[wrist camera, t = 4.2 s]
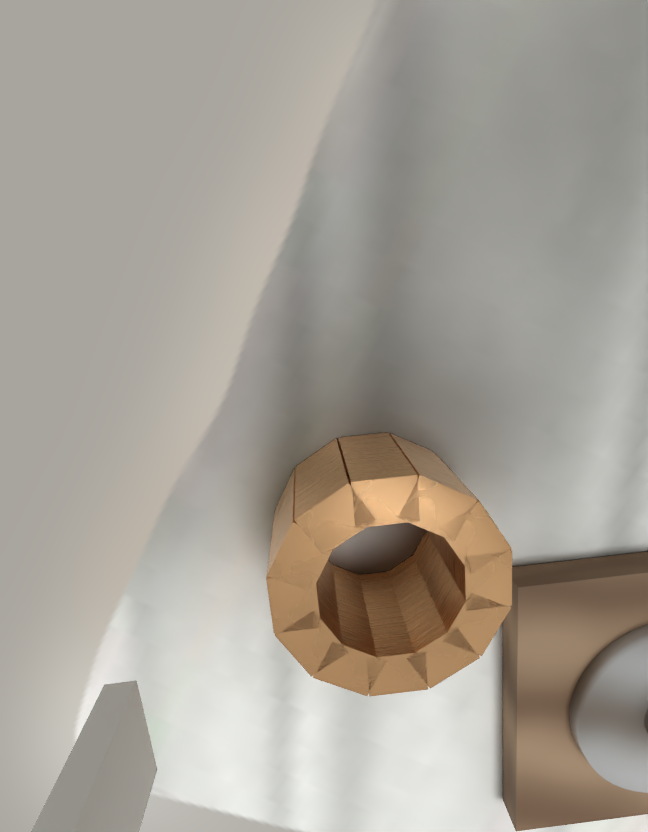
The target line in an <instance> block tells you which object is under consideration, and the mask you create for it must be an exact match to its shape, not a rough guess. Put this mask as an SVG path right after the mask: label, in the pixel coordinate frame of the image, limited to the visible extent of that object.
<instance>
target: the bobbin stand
mask: <svg viewBox="0 0 648 832" xmlns="http://www.w3.org/2000/svg"><path fill="white" fill-rule="evenodd" d="M510 607H511V609H510V611H509V612H508V614H507V616H506V617H505V619H504V620H503V801H504V803H505V806H506V808H507V811H508V813H509V816H510V818H511V820H512V823H513V825H514V828H515V830H516V831H522V830H529V829H537V828H544V827H552V826H560V825H567V824H575V823H582V822H590V821H598V820H605V819H613V818H621V817H628V816H636V815H643V814H648V552H639V553H630V554H622V555H613V556H604V557H595V558H587V559H578V560H569V561H561V562H552V563H543V564H535V565H526V566H517V567H512V606H510Z"/></svg>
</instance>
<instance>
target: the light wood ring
mask: <svg viewBox="0 0 648 832" xmlns="http://www.w3.org/2000/svg"><path fill="white" fill-rule="evenodd" d="M338 440H339V441H338ZM338 440H337V439H334V440H333V441H331V442H330V443H329V444H327V445H326V446H324V447H323V448H321V449H320V450H319V451H317V452H316V453H314V454H313V455H311V456H310V457H308V458H307V459H306V460H304V461H303V462H301V463H300V464H298V465H297V466H296V468H294V470H293V472H292V474H291V476H290V479H289V481H288V483H287V485H286V487H285V489H284V492H283V494H282V496H281V498H280V500H279V502H278V504H277V507H276V509H275V513H274V521H273V529H272V537H271V545H270V553H269V561H268V570H267V578H266V580H267V587H268V594H269V601H270V608H271V615H272V622H273V629H274V633H275V636H276V637H277V638H278V639H279V641H280V642H281V643H282V644H283V645H284V646H285V647H286V648H287V650H288V651H289V652H290V653H291V654H292V655H293V656H294V657H295V659H296V660H297V661H298V662H299V663H300V664H301V665H302V666H303V668H304V669H305V670H306V671H307V672H308V673H309V674H310V676H313V678H316V679H319V680H321V681H324V682H327V683H330V684H333V685H336V686H339V687H342V688H345V689H348V690H351V691H354V692H357V693H360V694H362V695H365V696H367V695H368V694H369V696H376V695H385V694H393V693H401V692H409V691H417V690H426V689H428V686H429V687H430V688H432V687H433V686H435V685H437V684H438V683H440V682H441V681H443V680H445V679H446V678H448V677H450V676H451V675H453V674H454V673H456V672H458V671H459V670H461V669H462V668H464V667H466V666H467V665H469V664H471V663H472V662H474V661H475V660H477V659H479V658H480V657H479V655H481V656H482V655H483V653H484V651H485V650H486V648H487V647H488V645H489V643H490V642H491V640H492V638H493V637H494V635H495V634H496V632H497V630H498V629H499V627H500V625H501V624H502V622H503V620H504V619H505V617H506V616H507V614H508V612H509V611H510V609H511V607H510V606H512V550H511V547H510V545H509V544H508V543H507V541H506V540H505V538H504V537H503V535H502V534H501V532H500V531H499V529H498V528H497V526H496V525H495V523H494V522H493V520H492V519H491V517H490V516H489V514H488V513H487V511H486V510H485V509H484V507H483V506H482V504H481V503H480V501H479V500H478V499H477V498H476V497H475V496H474V495H473V494H472V493H471V491H470V490H469V489H468V488H467V487H466V486H465V485H464V484H463V483H462V482H461V481H460V480H459V479H458V477H457V476H456V475H455V474H454V473H453V472H452V471H451V470H450V469H449V468H448V467H447V466H446V464H445V463H444V462H443V461H442V460H441V459H440V458H439V457H438V456H437V455H436V454H435V453H434V452H433V451H431V450H428V449H426V448H424V447H422V446H419V445H417V444H415V443H412V442H410V441H408V440H406V439H403V438H401V437H399V436H396V435H394V434H392V433H389V434H388V432H385V433H376V434H366V435H357V436H347V437H338ZM399 523H411V524H413V525H416V526H418V527H420V528H423V529H425V530H426V532H425V534H424V536H423V537H422V539H421V541H420V543H419V545H418V547H417V548H416V550H415V552H414V554H413V556H411V557H410V558H408V559H407V560H405V561H404V562H402V563H401V564H399V565H397V566H396V567H394V568H393V569H391V570H390V571H388V572H380V573H371V574H363V575H358V574H355V573H353V572H350V571H348V570H345V569H342V568H340V567H337V566H334V565H332V564H331V562H330V561H329V560H328V559H329V557H330V555H331V553H332V551H333V549H335V548H336V547H338V546H339V545H341V544H342V543H344V542H345V541H347V540H348V539H350V538H351V537H353V536H354V535H356V534H357V533H359V532H360V531H362V530H363V529H365V528H366V527H372V526H381V525H390V524H399Z"/></svg>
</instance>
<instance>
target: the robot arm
mask: <svg viewBox="0 0 648 832" xmlns="http://www.w3.org/2000/svg"><path fill="white" fill-rule="evenodd" d="M156 772H157V767H156V762H155V758H154V754H153V749H152V745H151V741H150V736H149V732H148V728H147V724H146V719H145V715H144V711H143V706H142V702H141V698H140V693H139V689H138V685H137V681H129V682H122V683H114V684H107V685H104V687H103V689H102V691H101V693H100V695H99V697H98V699H97V701H96V703H95V705H94V707H93V709H92V711H91V713H90V715H89V717H88V719H87V721H86V723H85V725H84V727H83V729H82V731H81V733H80V735H79V737H78V739H77V741H76V743H75V745H74V747H73V749H72V751H71V753H70V755H69V757H68V759H67V761H66V763H65V765H64V767H63V769H62V771H61V773H60V775H59V777H58V779H57V781H56V783H55V785H54V787H53V789H52V791H51V793H50V795H49V797H48V799H47V802H46V803H45V805H44V807H43V809H42V812H41V813H40V815H39V818H38V819H37V821H36V823H35V825H34V828H33V829H32V831H31V832H139V830H140V826H141V823H142V819H143V816H144V813H145V809H146V806H147V802H148V799H149V796H150V792H151V789H152V785H153V782H154V778H155V775H156Z"/></svg>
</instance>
